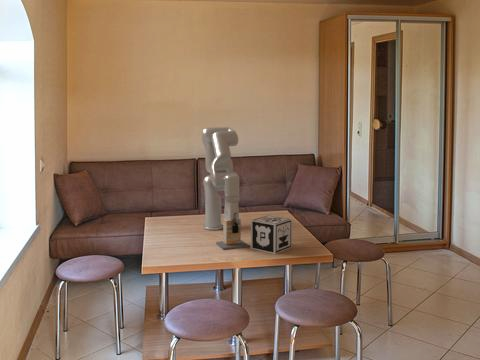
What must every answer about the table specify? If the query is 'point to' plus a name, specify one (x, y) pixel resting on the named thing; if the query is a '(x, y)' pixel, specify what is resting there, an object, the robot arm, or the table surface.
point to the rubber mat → (232, 245)
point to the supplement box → (231, 237)
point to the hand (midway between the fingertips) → (231, 230)
